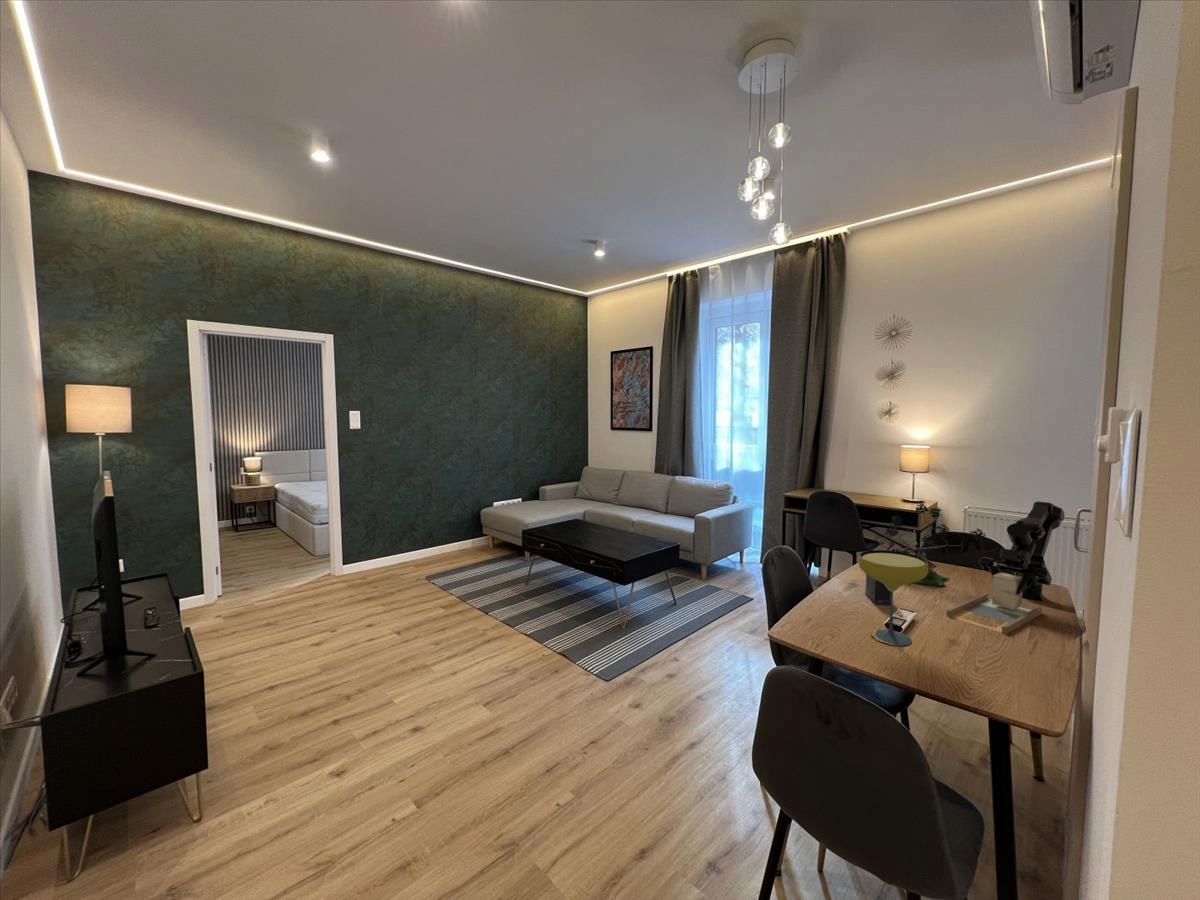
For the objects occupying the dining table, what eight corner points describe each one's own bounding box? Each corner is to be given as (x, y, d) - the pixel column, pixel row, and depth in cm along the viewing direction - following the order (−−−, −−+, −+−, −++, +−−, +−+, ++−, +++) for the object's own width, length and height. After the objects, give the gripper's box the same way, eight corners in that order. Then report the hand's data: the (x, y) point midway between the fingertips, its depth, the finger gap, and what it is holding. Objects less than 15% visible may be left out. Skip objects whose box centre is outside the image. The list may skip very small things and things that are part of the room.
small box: (894, 606, 174) (894, 577, 173) (874, 605, 175) (874, 576, 175) (883, 595, 184) (883, 567, 184) (864, 594, 186) (865, 567, 185)
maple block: (1000, 599, 170) (1001, 571, 169) (1021, 605, 165) (1022, 576, 164) (992, 603, 167) (993, 575, 166) (1014, 609, 162) (1015, 580, 161)
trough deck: (984, 602, 175) (984, 592, 175) (1041, 617, 161) (1042, 607, 161) (946, 620, 161) (946, 609, 161) (1005, 638, 148) (1006, 627, 147)
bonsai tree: (872, 581, 199) (873, 504, 196) (887, 566, 216) (888, 496, 214) (980, 603, 175) (983, 515, 172) (988, 584, 192) (990, 504, 190)
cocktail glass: (844, 632, 155) (845, 554, 153) (883, 621, 162) (885, 547, 160) (899, 657, 138) (900, 571, 136) (940, 644, 145) (942, 561, 144)
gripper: (981, 534, 174) (965, 570, 169) (1049, 545, 158) (1034, 586, 153) (991, 552, 179) (976, 587, 174) (1058, 565, 163) (1043, 604, 158)
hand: (1005, 591), depth 165 cm, fingers closed on maple block, 6 cm apart
